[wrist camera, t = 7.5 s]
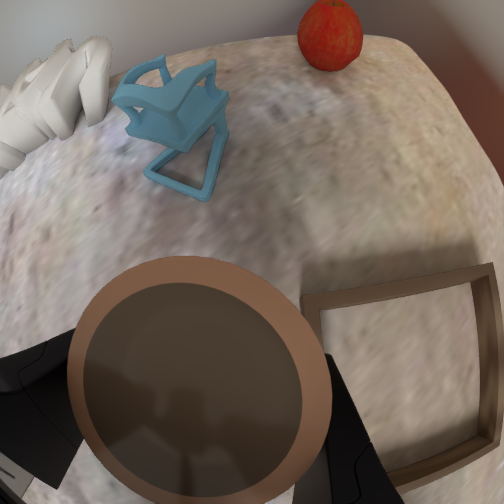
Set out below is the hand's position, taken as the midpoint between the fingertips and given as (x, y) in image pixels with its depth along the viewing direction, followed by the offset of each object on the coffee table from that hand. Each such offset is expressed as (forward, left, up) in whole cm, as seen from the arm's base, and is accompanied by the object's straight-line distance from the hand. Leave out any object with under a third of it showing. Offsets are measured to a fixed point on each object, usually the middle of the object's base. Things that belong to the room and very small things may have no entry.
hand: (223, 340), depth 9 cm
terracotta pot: (-1, 0, -7) cm, 7 cm away
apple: (+32, -13, -14) cm, 37 cm away
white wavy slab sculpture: (+31, +31, -14) cm, 46 cm away
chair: (+18, +4, -14) cm, 23 cm away
